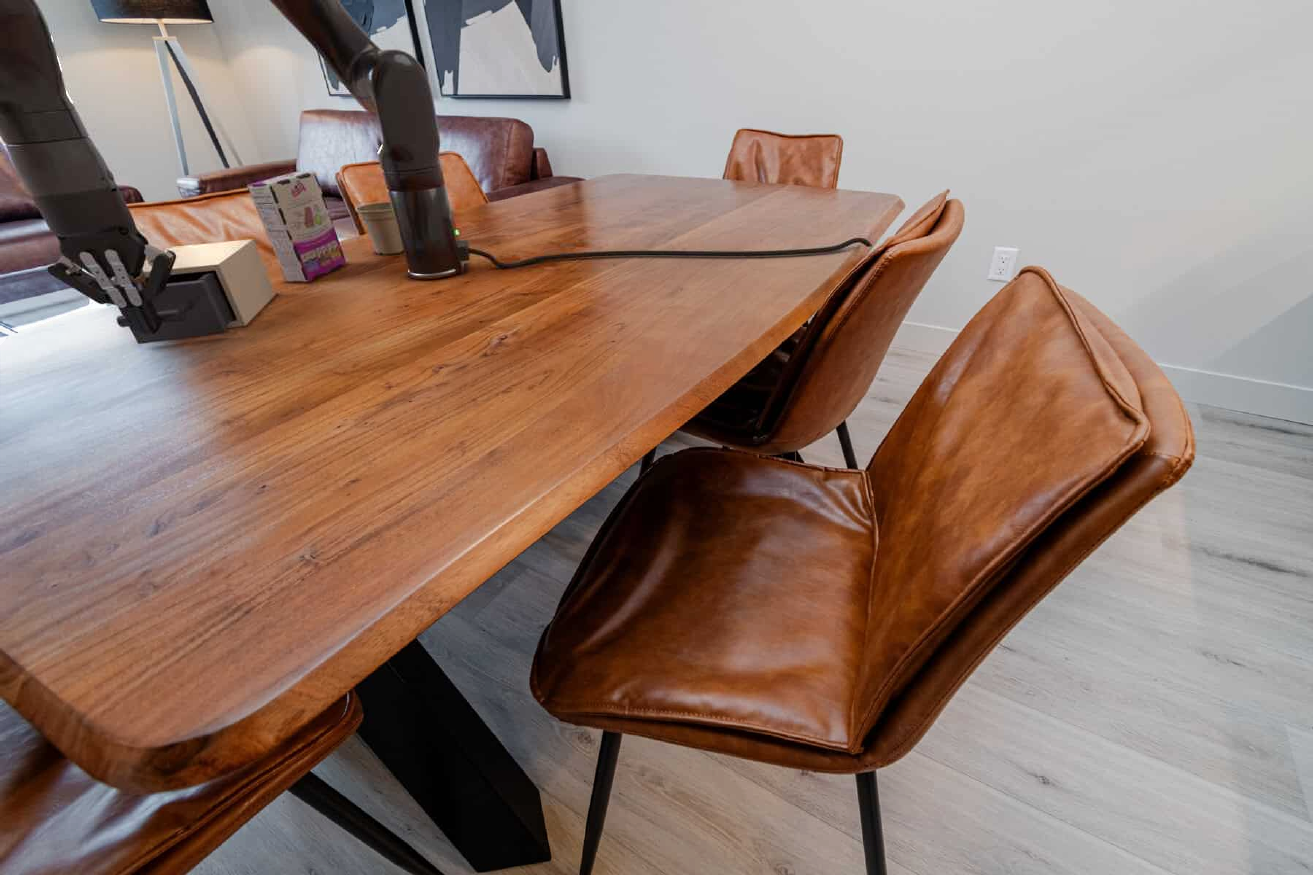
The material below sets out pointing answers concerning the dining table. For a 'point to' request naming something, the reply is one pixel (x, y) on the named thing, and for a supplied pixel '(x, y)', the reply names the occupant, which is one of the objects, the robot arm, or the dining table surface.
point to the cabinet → (228, 274)
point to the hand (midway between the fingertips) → (150, 332)
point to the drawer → (188, 308)
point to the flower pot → (381, 227)
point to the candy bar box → (298, 225)
